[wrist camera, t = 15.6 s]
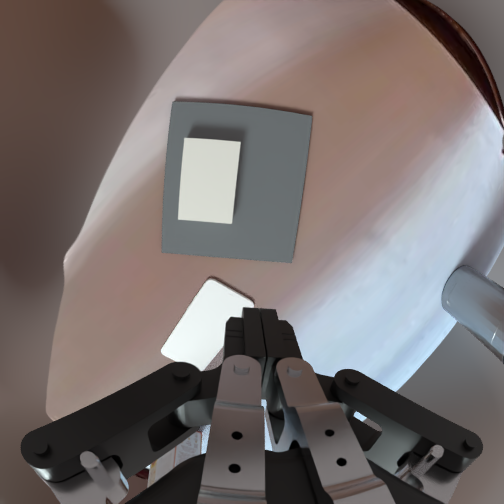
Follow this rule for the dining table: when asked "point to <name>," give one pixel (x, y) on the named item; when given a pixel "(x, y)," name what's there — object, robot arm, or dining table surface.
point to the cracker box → (175, 457)
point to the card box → (208, 180)
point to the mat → (241, 181)
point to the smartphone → (204, 324)
